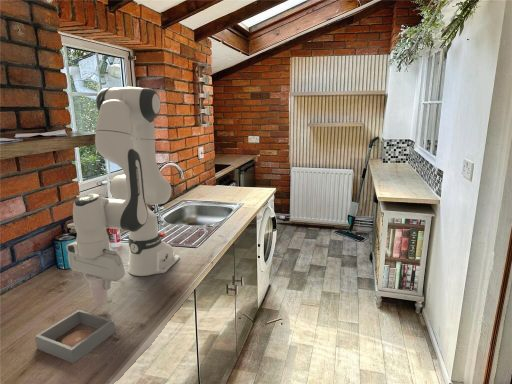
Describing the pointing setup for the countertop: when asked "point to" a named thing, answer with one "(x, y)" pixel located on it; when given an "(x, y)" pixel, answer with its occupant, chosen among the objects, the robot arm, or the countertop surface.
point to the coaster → (75, 337)
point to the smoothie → (97, 289)
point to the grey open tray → (82, 348)
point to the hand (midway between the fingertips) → (99, 286)
